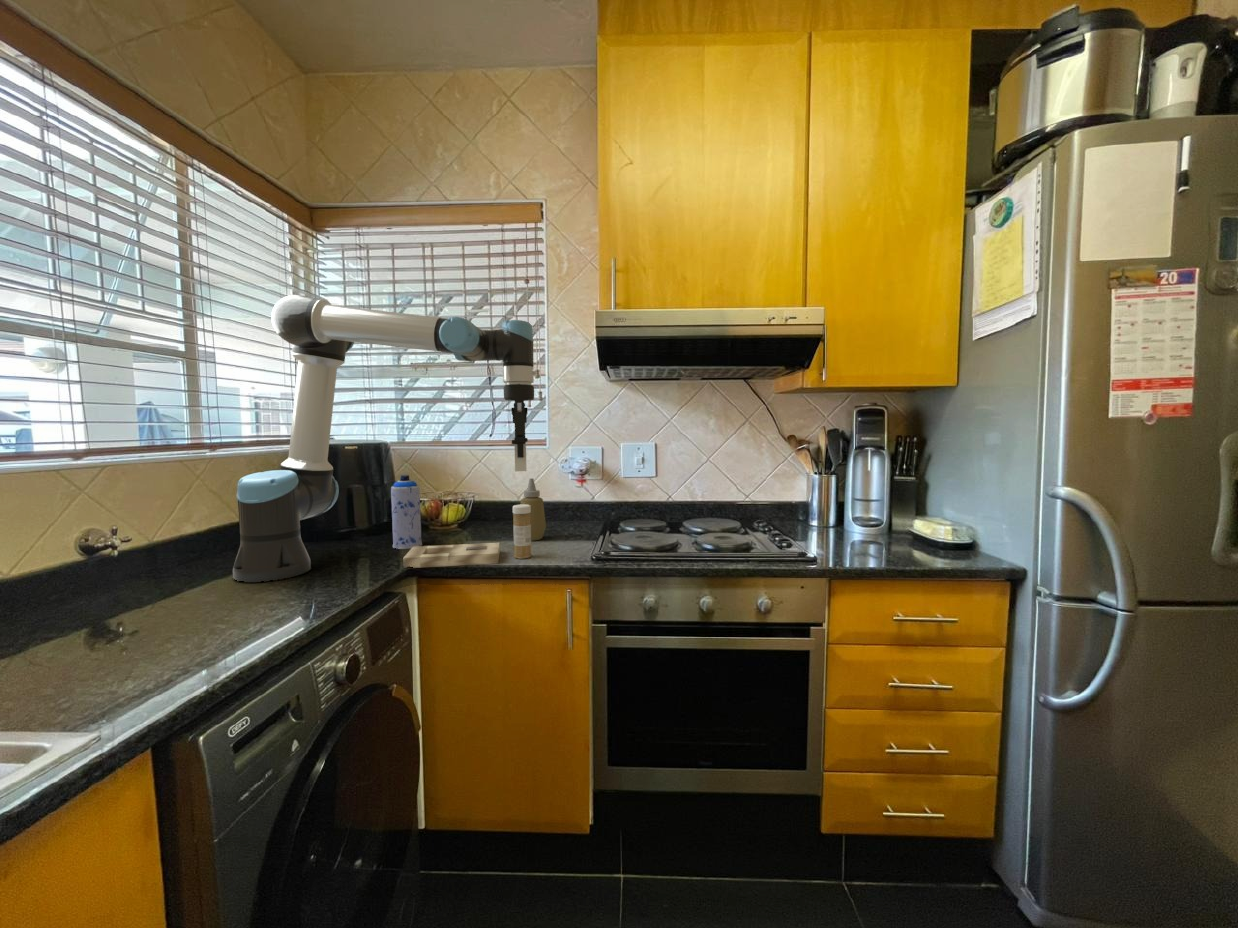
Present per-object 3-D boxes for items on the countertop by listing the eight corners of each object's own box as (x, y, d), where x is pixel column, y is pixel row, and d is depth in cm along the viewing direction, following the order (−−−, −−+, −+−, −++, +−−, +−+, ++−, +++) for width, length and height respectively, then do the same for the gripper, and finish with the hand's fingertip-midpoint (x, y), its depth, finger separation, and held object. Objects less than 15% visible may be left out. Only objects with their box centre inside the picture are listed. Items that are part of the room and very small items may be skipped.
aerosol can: (419, 541, 156) (416, 473, 154) (425, 546, 149) (422, 475, 148) (390, 544, 152) (387, 475, 150) (395, 550, 145) (392, 477, 144)
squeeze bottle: (549, 536, 162) (548, 477, 160) (542, 542, 154) (541, 480, 152) (523, 535, 162) (521, 477, 161) (515, 541, 154) (513, 480, 153)
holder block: (403, 568, 127) (403, 556, 127) (413, 556, 139) (412, 545, 138) (498, 563, 131) (497, 552, 131) (499, 551, 143) (499, 541, 142)
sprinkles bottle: (524, 554, 140) (523, 503, 139) (535, 556, 137) (534, 505, 136) (510, 557, 137) (508, 505, 136) (520, 560, 133) (519, 507, 132)
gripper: (535, 380, 122) (537, 472, 123) (532, 387, 146) (534, 464, 148) (501, 380, 120) (504, 473, 122) (504, 387, 145) (506, 465, 147)
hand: (520, 469), depth 135 cm, fingers open, 13 cm apart
